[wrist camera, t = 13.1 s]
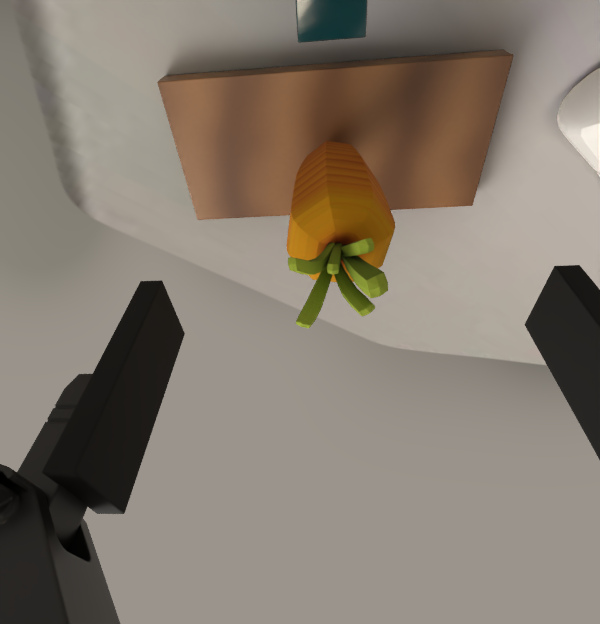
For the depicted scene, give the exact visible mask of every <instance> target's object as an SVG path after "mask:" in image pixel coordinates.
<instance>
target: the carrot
mask: <svg viewBox="0 0 600 624" xmlns="http://www.w3.org/2000/svg"><path fill="white" fill-rule="evenodd" d="M394 229H395V222H394V219H393V216H392V213H391V211H390V208H389V205H388V202H387V200H386V197H385V195H384V193H383V191H382V188H381V186H380V184H379V182H378V181H377V179H376V178H375V176H374V175H373V173H372V172H371V170H370V169H369V167H368V166H367V164H366V163H365V161H364V160H363V158H362V157H361V155H360V154H359V153H358V151H357V150H356V149H355V148H354V147H353V146H352V145H351V144H346V143H339V142H332V141H326V142H324V143H323V144H322V145H320V146H319V147H318V148H317V149H315V150H314V151H313V152H311V153H310V154H309V155H307V157H306V158H305V160H304V161H303V163H302V164H301V166H300V168H299V170H298V172H297V175H296V180H295V185H294V190H293V197H292V205H291V213H290V221H289V230H288V239H287V251H288V254H289V255H290V256H291V257H290V258H288V265H289V269H290V270H291V271H294V272H297V273H300V274H306V275H309V276H310V277H311V278H312V279H313V280H317V281H316V283H315V285H314V287H313V289H312V291H311V293H310V295H309V297H308V299H307V301H306V303H305V305H304V307H303V309H302V311H301V313H300V314H299V316H298V319H297V321H296V324H297V325H299V326H301V327H306V328H310V326H311V325H312V324H313V322H314V321H315V320H316V318H317V316H318V314H319V312H320V310H321V308H322V305H323V302H324V299H325V296H326V293H327V290H328V287H329V284H330V281H331V282H337V284H338V286H339V288H340V291H341V293H342V295H343V297H344V298H345V299H346V300H347V302H348V303H349V304H350V305H351V307H352V308H354V309H355V310H356V311H357V312H358V313H359V314H360V315H361V316H365V315H367V314H369V313H371V312H372V311H373V310H374V309H375V306H374V305H373V304H372V303H371V302H370V301H369V299H368V298H367V297H366V296H365V295H363V294H362V293H361V292H360V291H359V290H358V289H357V288H356V286H355V285H354V283H353V281H354V282H355V283H356V284H357V285H358V287H359V288H360V289H361V290H362V291H363V292H364V293H365V294H366V295H368V296H369V297H370V298H374V297H378V296H381V295H382V294H384V293H385V292H386V291H388V282H387V279H386V277H385V274H384V272H382V271H381V270H379V269H378V268H379V267H381V266H382V265H383V262H384V259H385V256H386V253H387V250H388V247H389V245H390V242H391V239H392V236H393V233H394Z"/></svg>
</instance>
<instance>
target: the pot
mask: <svg viewBox="0 0 600 624" xmlns="http://www.w3.org/2000/svg"><path fill="white" fill-rule="evenodd" d="M296 15H297V32H298V42H299V43H300V42H312V41H324V40H336V39H349V38H361V37H365V36H366V20H367V0H296Z"/></svg>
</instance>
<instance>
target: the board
mask: <svg viewBox="0 0 600 624" xmlns="http://www.w3.org/2000/svg"><path fill="white" fill-rule="evenodd" d="M512 59H513V54H511V53H509V52H507V51H505V50H493V51H480V52H467V53H454V54H441V55H428V56H415V57H402V58H389V59H376V60H363V61H350V62H337V63H324V64H311V65H298V66H285V67H272V68H260V69H247V70H234V71H221V72H208V73H195V74H182V75H169V76H164V77H163V78H162V79H160V80H159V81H158V86H159V89H160V93H161V96H162V100H163V103H164V107H165V110H166V113H167V117H168V120H169V124H170V127H171V131H172V134H173V137H174V141H175V144H176V148H177V151H178V154H179V158H180V161H181V165H182V168H183V172H184V175H185V178H186V182H187V185H188V189H189V192H190V196H191V199H192V202H193V206H194V209H195V213H196V216H197V219H198V220H202V219H221V218H241V217H260V216H280V215H290V213H291V205H292V197H293V190H294V185H295V180H296V175H297V172H298V170H299V168H300V166H301V164H302V163H303V161H304V160H305V158H306V157H307V155H309V154H310V153H311V152H313V151H314V150H315V149H317V148H318V147H319V146H320V145H322V144H323V143H324V142H326V141H332V142H339V143H346V144H351V145H352V146H353V147H354V148H355V149H356V150H357V151H358V153H359V154H360V155H361V157H362V158H363V160H364V161H365V163H366V164H367V166H368V167H369V169H370V170H371V172H372V173H373V175H374V176H375V178H376V179H377V181H378V182H379V184H380V186H381V188H382V191H383V193H384V195H385V197H386V200H387V202H388V205H389V208H390V210H396V209H416V208H435V207H455V206H472V205H473V202H474V198H475V194H476V191H477V187H478V183H479V180H480V176H481V172H482V169H483V165H484V161H485V158H486V154H487V150H488V147H489V143H490V140H491V136H492V132H493V129H494V125H495V121H496V118H497V114H498V110H499V107H500V103H501V99H502V96H503V92H504V88H505V85H506V81H507V78H508V74H509V70H510V67H511V63H512Z"/></svg>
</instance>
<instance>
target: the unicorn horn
mask: <svg viewBox="0 0 600 624" xmlns="http://www.w3.org/2000/svg"><path fill="white" fill-rule="evenodd" d="M557 121H558V126H559V128H560V130H561V131H562V133H563V134H564V136H565V137H566V138H567V139H568V140H569V142H570V143H571V144H572V145H573V146H574V147H575V148H576V150H577V151H578V152H579V153H580V154H581V155H582V156H583V158H584V159H585V160H586V161H587V162H588V163H589V164H590V166H591V167H592V168H593V169H594V170H596V171H597V174H598V175H599V176H600V68H599V69H597V70H595V71H594V72H592V73H590V74H589V75H588V76H586V77H585V78H584V79H583V80H582V81H580V82H579V83H578V84H577V85H576V86H574V87H573V89H572V90H571V91H570V92H569V93H568V95H567V96H566V97H565V98H564V99H563V101H562V103H561V106H560V109H559V112H558V114H557Z"/></svg>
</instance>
